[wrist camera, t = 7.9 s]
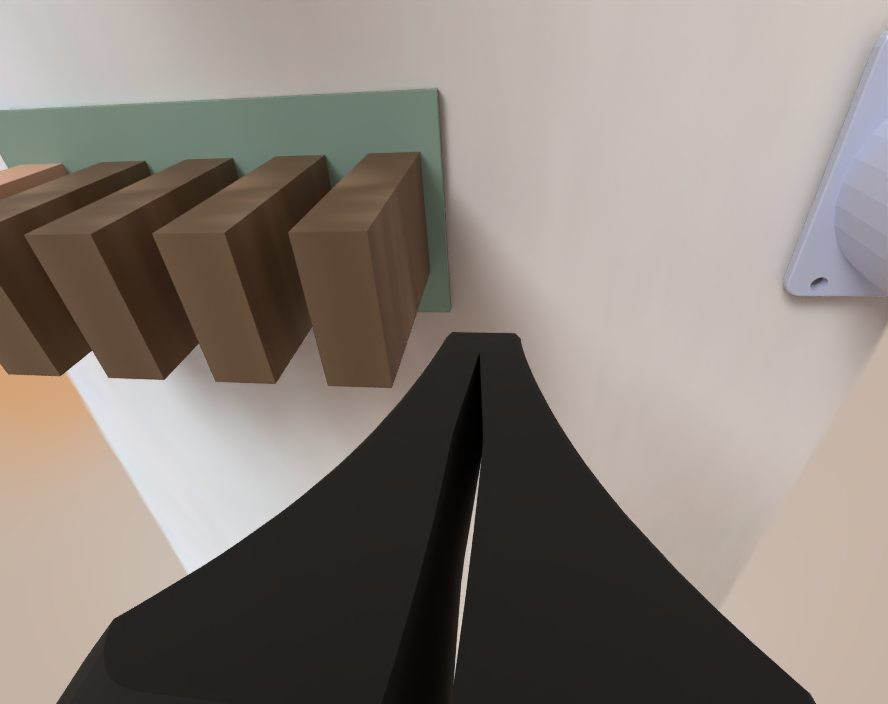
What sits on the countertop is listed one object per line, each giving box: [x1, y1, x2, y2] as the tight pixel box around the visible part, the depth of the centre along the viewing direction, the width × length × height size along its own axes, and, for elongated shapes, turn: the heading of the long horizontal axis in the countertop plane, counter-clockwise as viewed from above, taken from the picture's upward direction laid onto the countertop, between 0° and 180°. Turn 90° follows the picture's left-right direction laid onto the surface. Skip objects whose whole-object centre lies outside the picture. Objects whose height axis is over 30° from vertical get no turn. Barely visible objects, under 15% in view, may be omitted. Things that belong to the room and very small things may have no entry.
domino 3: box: [152, 155, 331, 384], centre depth 15 cm, size 2×4×7 cm, turn 3°
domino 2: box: [24, 158, 239, 380], centre depth 16 cm, size 2×4×7 cm, turn 2°
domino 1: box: [0, 161, 151, 376], centre depth 16 cm, size 2×4×7 cm, turn 3°
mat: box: [0, 88, 451, 312], centre depth 18 cm, size 17×8×1 cm, turn 93°
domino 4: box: [288, 152, 430, 388], centre depth 15 cm, size 2×4×7 cm, turn 3°
